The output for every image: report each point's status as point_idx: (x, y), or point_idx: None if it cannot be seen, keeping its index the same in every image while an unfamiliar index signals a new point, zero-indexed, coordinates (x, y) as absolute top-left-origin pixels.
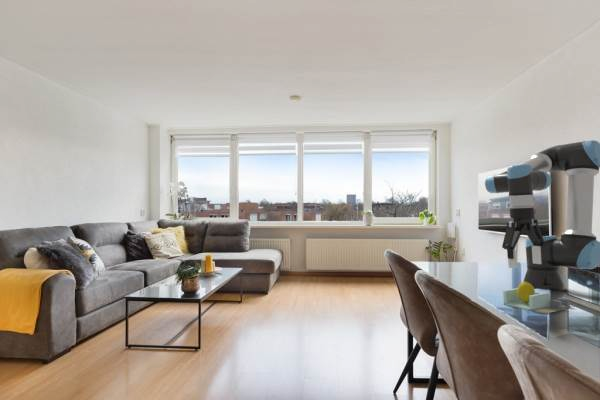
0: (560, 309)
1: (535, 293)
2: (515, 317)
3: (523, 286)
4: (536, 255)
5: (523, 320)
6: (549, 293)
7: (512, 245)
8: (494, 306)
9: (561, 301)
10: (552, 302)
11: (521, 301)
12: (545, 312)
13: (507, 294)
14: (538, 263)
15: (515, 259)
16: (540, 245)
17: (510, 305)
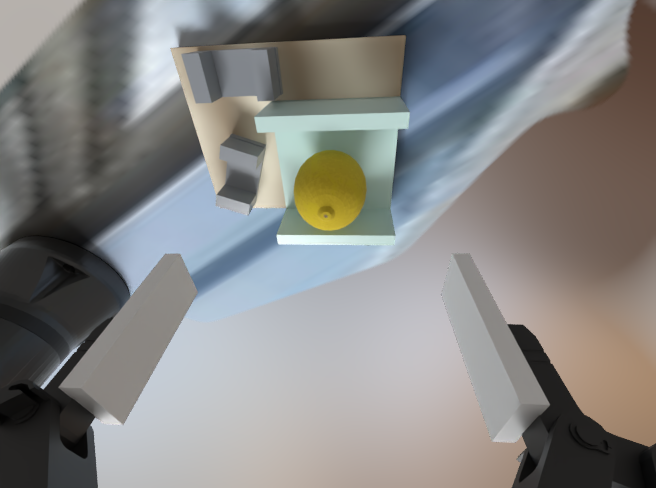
0: (271, 47)
1: (233, 203)
2: (494, 103)
3: (356, 198)
4: (155, 320)
5: (520, 53)
6: (259, 115)
7: (606, 486)
8: (399, 230)
9: (249, 50)
10: (274, 87)
11: None
12: (378, 48)
13: (384, 226)
14: (183, 265)
15: (497, 308)
16: (46, 396)
17: (390, 191)
